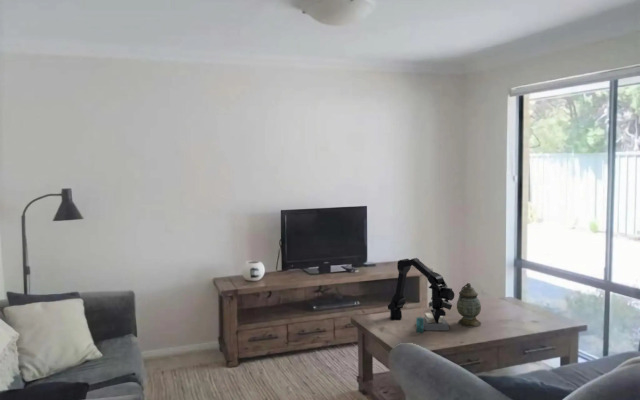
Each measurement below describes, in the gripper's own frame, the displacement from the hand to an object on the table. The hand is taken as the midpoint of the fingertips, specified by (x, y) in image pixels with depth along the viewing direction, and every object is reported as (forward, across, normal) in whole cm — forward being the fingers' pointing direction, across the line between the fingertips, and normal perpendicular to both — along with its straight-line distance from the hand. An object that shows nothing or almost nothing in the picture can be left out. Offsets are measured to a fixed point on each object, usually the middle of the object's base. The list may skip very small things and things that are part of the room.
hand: (436, 323), depth 288 cm
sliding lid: (+1, +9, 0) cm, 9 cm away
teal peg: (+5, 0, +10) cm, 11 cm away
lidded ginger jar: (+5, +13, -22) cm, 26 cm away
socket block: (+5, +9, 0) cm, 10 cm away
